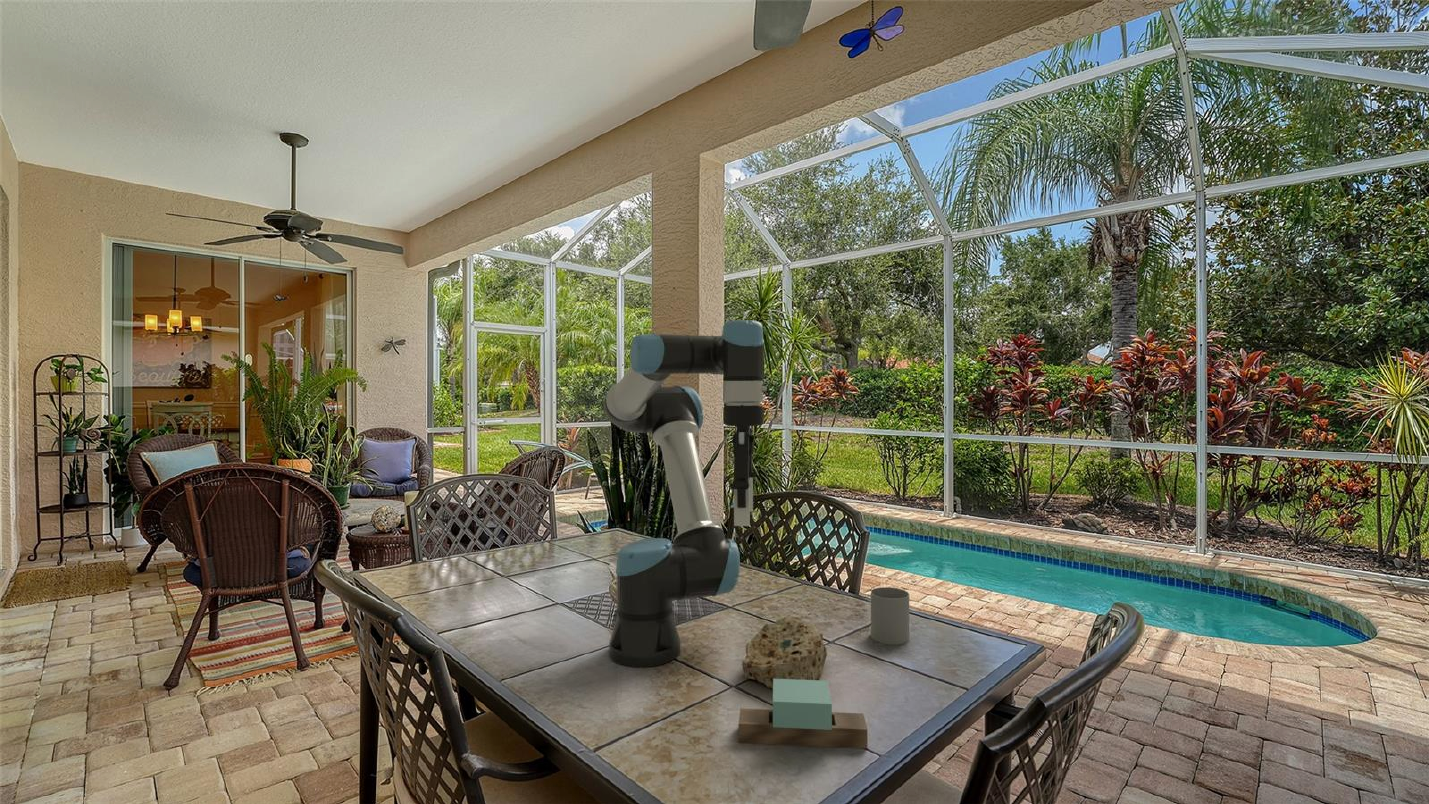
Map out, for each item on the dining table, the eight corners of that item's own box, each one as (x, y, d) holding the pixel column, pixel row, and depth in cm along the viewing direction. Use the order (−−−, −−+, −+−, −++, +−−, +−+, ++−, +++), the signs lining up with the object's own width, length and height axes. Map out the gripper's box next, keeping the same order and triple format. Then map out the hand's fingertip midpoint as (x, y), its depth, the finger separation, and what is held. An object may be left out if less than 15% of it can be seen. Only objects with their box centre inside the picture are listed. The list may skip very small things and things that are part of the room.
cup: (910, 646, 141) (910, 600, 141) (871, 643, 143) (871, 597, 143) (907, 631, 150) (907, 588, 149) (870, 629, 151) (870, 586, 151)
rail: (738, 742, 103) (738, 723, 103) (740, 726, 108) (740, 708, 108) (867, 748, 101) (867, 729, 101) (863, 731, 106) (863, 713, 106)
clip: (773, 749, 101) (772, 701, 101) (773, 723, 109) (773, 678, 109) (831, 752, 100) (831, 704, 100) (828, 725, 108) (827, 680, 108)
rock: (815, 706, 117) (800, 652, 117) (742, 709, 123) (728, 658, 123) (839, 651, 136) (827, 604, 136) (775, 656, 142) (763, 612, 141)
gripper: (761, 405, 109) (762, 533, 109) (765, 402, 133) (765, 506, 134) (716, 406, 109) (717, 532, 110) (728, 402, 134) (729, 505, 135)
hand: (744, 518), depth 122 cm, fingers open, 13 cm apart
